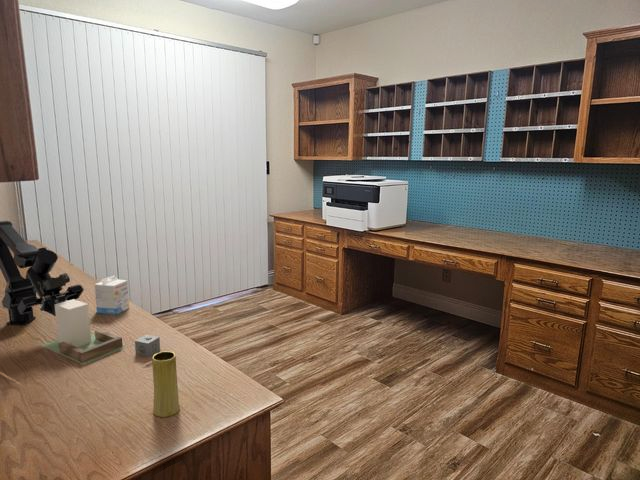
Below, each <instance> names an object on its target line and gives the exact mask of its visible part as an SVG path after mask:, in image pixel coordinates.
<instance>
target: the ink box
mask: <svg viewBox="0 0 640 480" xmlns="http://www.w3.org/2000/svg"><path fill="white" fill-rule="evenodd" d="M94 294H95V308H96V313H98V314H99V313H101V314H103V315H114V316H117V315H118V314H121V313H123V312H125V311H126V310H128V309H129V308H130V301H129V300H130V299H129V287H128V280H126V279H119V278H118V277H117V276H116V275H110V276H108V277H105V278H102V279H100V281H99V282H97V283H95V284H94Z"/></svg>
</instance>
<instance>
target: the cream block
mask: <svg viewBox="0 0 640 480" xmlns="http://www.w3.org/2000/svg"><path fill="white" fill-rule="evenodd" d="M89 312H90V311H89V304H88V303H86V302H83V301H81V300H78V299H72V300H69V301H68V300H66V301H65V302H61V303H58V304H55V314H56V317H55V320H56V323H55V324H56V332H57V340H58V343H61V342H66V343H68V344H71V345H73V346H75V347H80V346H82V345H85V344H88V343H90V342H91V324H90V323H91V322H90V313H89Z"/></svg>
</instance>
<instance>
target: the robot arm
mask: <svg viewBox="0 0 640 480" xmlns="http://www.w3.org/2000/svg"><path fill="white" fill-rule="evenodd" d="M11 251H12V252H11ZM12 253H13V254H12ZM58 258H59V257H58V254H57V253H56V252H54V251H52V250H50V249H47V248H46V247H40V248H38V247H36V245H33V244H30V243H28V242H26V241H25V239H24V238H23V237H22V236H21V235H20V233H19V232H18V231H17V230H16V229H15V228H14V226H13V223H12V222H11V220H10V221H9V220H3V221H2V220H1V221H0V271H1V274H2V275H3V278H4V280H5V281H6V285H5V289H4V294H5V295H4V296H3V298H2V301H1V304H2V307H3V308H4V309H7V311H8V317H9V321H7V322H6V325H17V326H18V325H22V326H23V325H26V324H28V323H29V322H31V321H33V320H35V319H36V318H37V317H36V316H34V308H33V307H35V306H39V305H40V308H39V309H40V311H41V312H46V313H49V314H51V315H52V316H54V317H55V318H56V314H55V304H58V303H61V302H65V301H69V300H72V299H75V300H78V299H79V298H80V297H81V295H83V292H84V291H85V290H84V288H83V286H82V284H74V285H71V286H68V287H67V288H66V291H62V290H63V287H66V286H67V284H68V283H70V281H71V278H70V276H69V274H68V273H67V272H66V273H61V274H59V275H58V276H57V277H54V276H53V277H52V276H51V274H50V272H52V270H53V268H54V266H56V263H57V261H58ZM27 268H28V269H27ZM19 269H27V270H26V273H25V277H23V276H22V274H21V272H20V270H19ZM37 296H38V297H39V298H38V297H37Z"/></svg>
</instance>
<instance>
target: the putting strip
mask: <svg viewBox="0 0 640 480" xmlns="http://www.w3.org/2000/svg"><path fill="white" fill-rule="evenodd" d="M90 333H91V332H90ZM101 343H104V342H101V341H99V340H96V339H95V333H91V342H90V343H88V344H85V345H82V346H80V347H78V348H80V349H82V350H86V349H88V348H91V347H93V346H96V345H99V344H101ZM40 346H41V347H43V348H46V349H47V350H50V351H52V352H54V353H56V354H59V355H61V356H62V357H65V358H67V359H69V360H72V361H74V362H76V363H78V364H81V365H83V366H85V365H88V364H89V363H92V362H95V361H97V360H100V359H102V358H104V357H107V356H109V355H112V354H114V353H116V352H119V351H121V350H124V349H126V348H127V346H125V345H123V347H120V348H118V349H115V350H113V351H111V352H108V353H106V354H103V355H101V356H98V357H96V358H93V359H91V360H89V361H86V362H84V363H82V362H80V361H77V360H75V359H73V358H71V357H69V356H66V355H64V354H62V353H60V351H59V343H58V339H56V340H53V341H50V342H47V343H43V344H41V345H40Z"/></svg>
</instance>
